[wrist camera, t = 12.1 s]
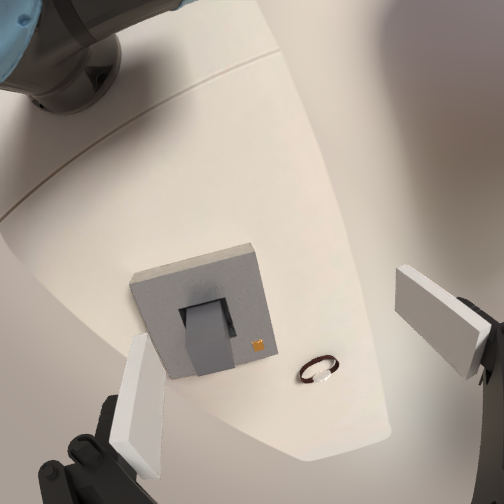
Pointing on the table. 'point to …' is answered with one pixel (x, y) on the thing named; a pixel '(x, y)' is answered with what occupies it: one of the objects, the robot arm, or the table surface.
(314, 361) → the watch
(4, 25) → the robot arm
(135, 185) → the table surface
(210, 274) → the socket
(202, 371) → the plug
